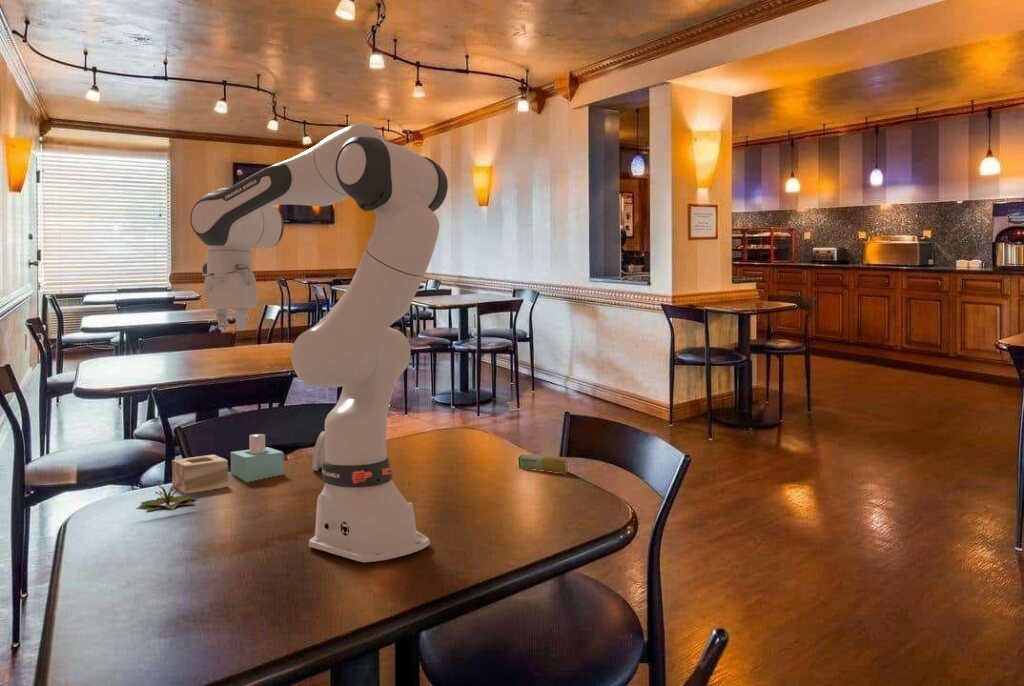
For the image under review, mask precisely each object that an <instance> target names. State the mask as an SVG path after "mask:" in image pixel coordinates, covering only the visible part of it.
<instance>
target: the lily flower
mask: <svg viewBox="0 0 1024 686" xmlns="http://www.w3.org/2000/svg"><path fill="white" fill-rule="evenodd" d="M174 483H175V482H174ZM174 483H173V482H172V485H171V486H168V488H167V485H165V486H166V488H167V489H168V490H166V489H165V487H164V486H161V485H160V484H157V486H158V487H159V488H160V489H162V491H161V490H159V492H158V491H155V492H154V493H155V494H157V495H159V496H160V497H157V498H156V499H151V500H145V501H141V504H140V505H139V506H138V507H136V508H135V509H139V508H143V507H146V512H150V511H155V510H157V506H162V509H163V508H167V509H170V510H172V511H174V510H175V509H176V507H177V506H180V505H183V506H186V505H187V506H188V505H189V506H190V505H195V503H194V502H193V501H192V500H197V498H196V497H192V496H188V494H186V495H182V496H181V495H179V496H174V495H175V494H176V493H178V492H179V490H178V489H177V490H175V489H176V488H175V487H174V485H173V484H174ZM177 485H179V483H178V484H177ZM169 487H170V488H169ZM171 503H172V504H171ZM164 504H165V505H164Z"/></svg>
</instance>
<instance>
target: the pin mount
mask: <svg viewBox="0 0 1024 686" xmlns="http://www.w3.org/2000/svg"><path fill="white" fill-rule="evenodd" d="M228 464H229V461H228V459H226V458H224V457H221V456H219V455H216V454H207V455H206V454H205V455H201V456H200V455H199V456H193V457H185V458H177V459H171V468H172V469H171V470H172V471H171V472H172V473H171V475H172V482H171V483H172V486H173V485H174V486H175V488H174V489H176V488H177V490H178V491H180V492H182V493H183V494H186V495H188V494H193V493H199V492H206V491H211V490H214V489H215V490H216V489H222V488H223V489H224V488H227V487H229V469H228V468H229V465H228ZM174 482H175V483H174ZM173 483H174V484H173ZM178 483H179V485H177V484H178Z"/></svg>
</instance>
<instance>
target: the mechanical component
mask: <svg viewBox="0 0 1024 686" xmlns="http://www.w3.org/2000/svg"><path fill="white" fill-rule="evenodd" d="M315 442H316V443H315V445H314V449H313V454H312V463H311V464H312V465H311V466H312V471H313V470H314V472H315V471H316V472H317V471H320V469H322V468H323V462H324V461H325V430H324V431H321V432H320V433H319V435H318V437H317V439H316V441H315Z"/></svg>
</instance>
